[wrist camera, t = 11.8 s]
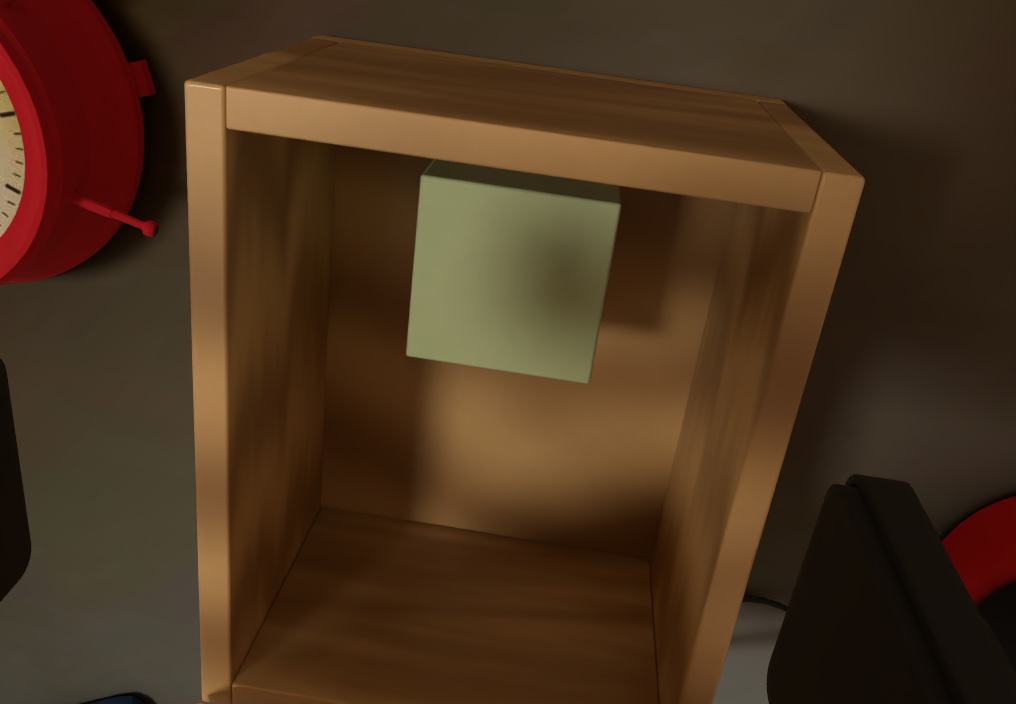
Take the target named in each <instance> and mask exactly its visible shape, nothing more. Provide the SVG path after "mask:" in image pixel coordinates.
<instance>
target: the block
mask: <svg viewBox="0 0 1016 704" xmlns="http://www.w3.org/2000/svg"><path fill="white" fill-rule="evenodd" d="M620 212H621V188H620V186H617V185H610V184H603V183H596V182H589V181H582V180H575V179H568V178H562V177H555V176H548V175H541V174H534V173H527V172H520V171H513V170H507V169H500V168H493V167H486V166H479V165H472V164H465V163H458V162H451V161H445V160H438V159H434V160H433V161H432V163H431V164H430V165H429V166H428V168H427V169H426V170H425V172H424V173H423V174H422V176H421V178H420V190H419V202H418V214H417V226H416V238H415V251H414V263H413V275H412V287H411V299H410V311H409V324H408V336H407V348H406V354H407V356H410V357H416V358H423V359H429V360H436V361H442V362H449V363H455V364H462V365H468V366H474V367H481V368H487V369H494V370H500V371H507V372H513V373H520V374H526V375H533V376H539V377H546V378H552V379H559V380H565V381H572V382H578V383H585V384H588V383H589V382H590V379H591V374H592V368H593V362H594V357H595V351H596V346H597V340H598V335H599V329H600V324H601V318H602V312H603V307H604V301H605V296H606V290H607V285H608V279H609V273H610V268H611V262H612V257H613V251H614V246H615V240H616V235H617V229H618V223H619V218H620Z"/></svg>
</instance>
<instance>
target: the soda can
mask: <svg viewBox="0 0 1016 704" xmlns="http://www.w3.org/2000/svg"><path fill="white" fill-rule="evenodd" d="M941 542H942V544H943V546H944V548H945V550H946V551H947V553H948V555H949V557H950V559H951V561H952V563H953V564H954V566H955V568H956V570H957V572H958V574H959V576H960V577H961V579H962V581H963V583H964V585H965V587H966V589H967V590H968V592H969V594H970V596H971V598H972V600H973V602H974V603H975V605H976V607H977V609H978V611H979V613H980V615H981V616H982V617H983V618H984V619H985V620H986V622H987V623H988V624H989V626H990V627H991V628H992V630H993V632H994V634H995V635H996V637H997V639H998V641H999V643H1000V645H1001V646H1002V648H1003V650H1004V652H1005V654H1006V656H1007V657H1008V659H1009V661H1010V663H1011V665H1012V667H1013V668H1014V670H1015V672H1016V496H1014V497H1010V498H1007V499H1004V500H1001V501H998V502H996V503H994V504H992V505H989V506H987V507H985V508H983V509H981V510H979V511H977V512H976V513H974V514H973V515H971V516H970V517H969V518H967V519H966V520H964V521H963V522H961V523H960V524H959V525H958V526H957V527H956V528H955V529H954V530H953V531H952V532H951V533H950V534H949V535H948V536H947V537H946V538H945V539H944V540H943V541H941Z"/></svg>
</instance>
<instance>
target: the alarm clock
mask: <svg viewBox="0 0 1016 704" xmlns="http://www.w3.org/2000/svg"><path fill="white" fill-rule="evenodd" d="M153 94H156V91H155V87H154V84H153V81H152V78H151V74H150V71H149V68H148V65H147V61H146V59H145V60H141V61H136V62H130V63H128V62H127V60H126V58H125V55H124V53H123V51H122V49H121V47H120V45H119V43H118V41H117V39H116V37H115V35H114V33H113V32H112V30H111V28H110V27H109V25H108V23H107V22H106V20H105V19H104V17H103V16H102V14H101V13H100V11H99V10H98V9H97V7H96V6H95V4H94V3H93V2H92V0H0V286H1V285H3V284H5V283H23V282H31V281H37V280H41V279H45V278H49V277H52V276H55V275H58V274H60V273H63V272H65V271H67V270H69V269H71V268H73V267H75V266H77V265H78V264H80V263H82V262H83V261H85V260H86V259H88V258H89V257H91V256H92V255H94V254H95V253H96V252H97V251H99V250H100V249H101V248H102V247H103V246H104V245H105V244H106V243H107V242H108V241H109V240H110V239H111V238H112V237H113V235H114V234H115V233H116V232H117V231H118V229H119V228H120V227H121V225H122V223H123V222H125V223H127V224H130V225H132V226H135V227H137V228H140V229H142V231H143V234H144V235H146V236H148V237H151V236H155V235H156V234H157V232H158V229H159V226H158V224H157V223H156V222H155V221H153V220H150V219H149V220H147V221H146V222H143V221H141V220H138V219H136V218H134V217H131V216H129V215H128V213H129V211H130V209H131V207H132V204H133V202H134V200H135V197H136V194H137V190H138V187H139V184H140V180H141V174H142V169H143V159H144V125H143V116H142V110H141V104H140V100H139V97H144V96H150V95H153Z"/></svg>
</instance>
